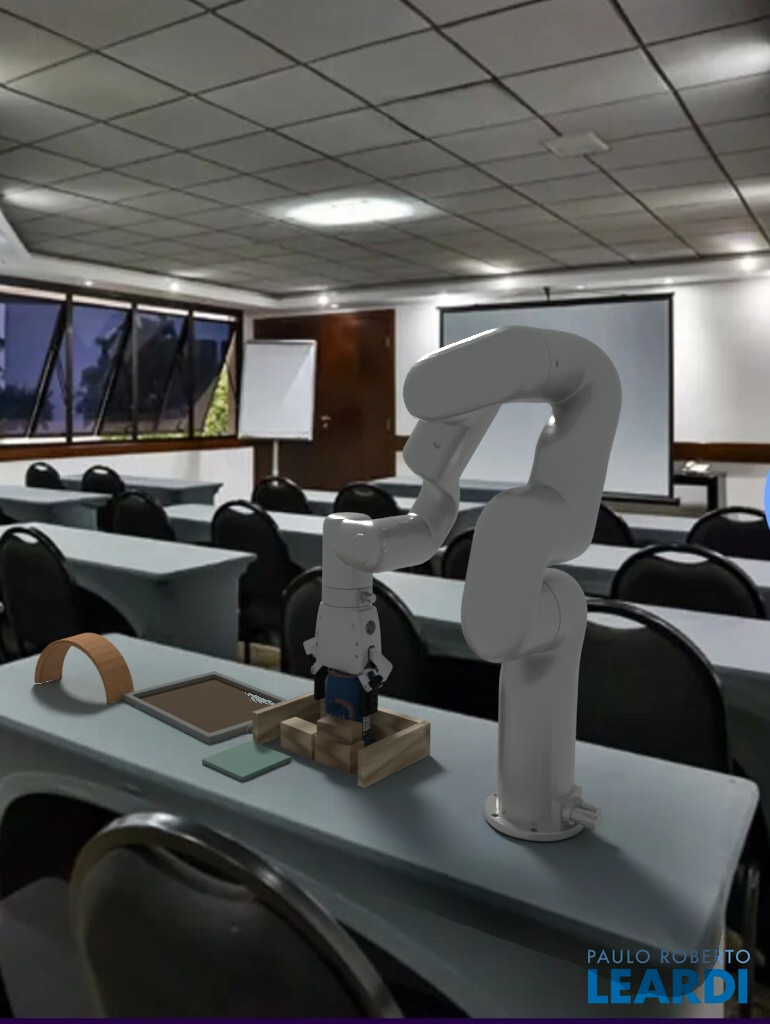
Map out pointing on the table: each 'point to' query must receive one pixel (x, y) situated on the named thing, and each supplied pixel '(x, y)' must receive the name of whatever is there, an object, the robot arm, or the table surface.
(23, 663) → the table surface
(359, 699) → the soda can
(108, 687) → the arch
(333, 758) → the offcut
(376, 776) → the enclosure
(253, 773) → the mat
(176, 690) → the framed cork board
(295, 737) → the offcut
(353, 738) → the offcut top
